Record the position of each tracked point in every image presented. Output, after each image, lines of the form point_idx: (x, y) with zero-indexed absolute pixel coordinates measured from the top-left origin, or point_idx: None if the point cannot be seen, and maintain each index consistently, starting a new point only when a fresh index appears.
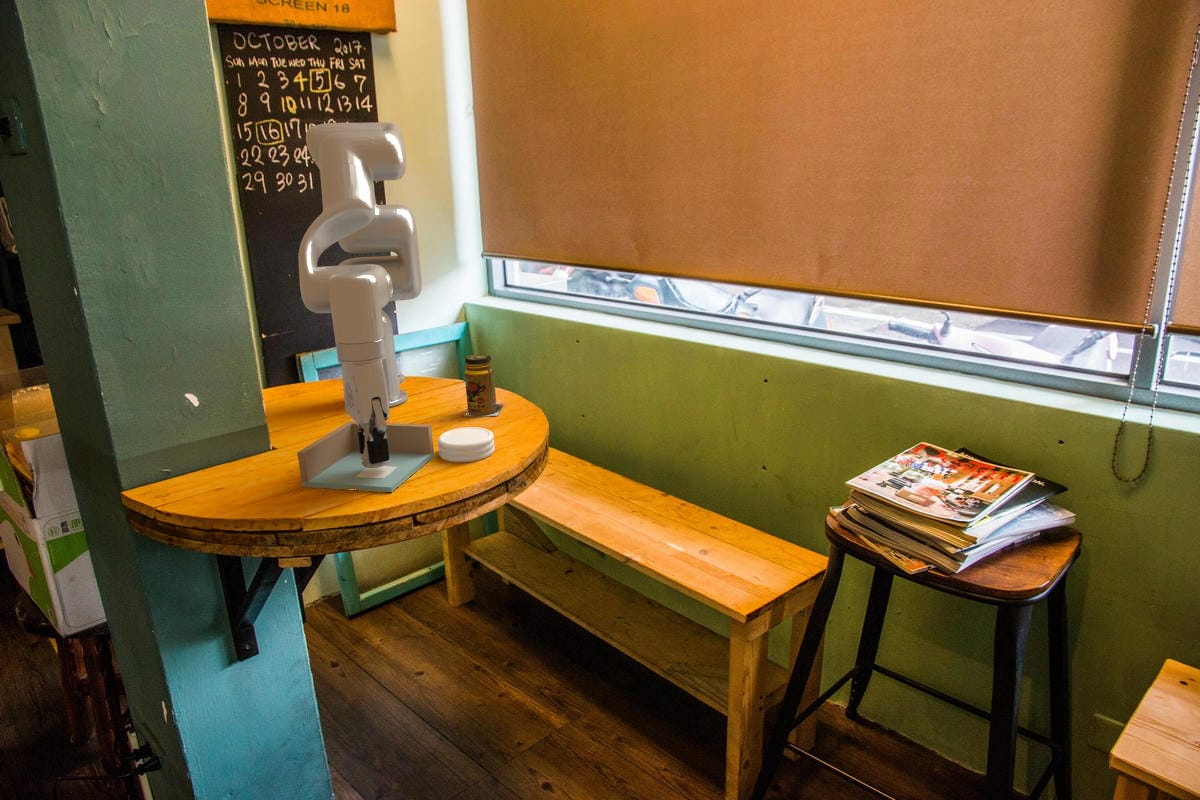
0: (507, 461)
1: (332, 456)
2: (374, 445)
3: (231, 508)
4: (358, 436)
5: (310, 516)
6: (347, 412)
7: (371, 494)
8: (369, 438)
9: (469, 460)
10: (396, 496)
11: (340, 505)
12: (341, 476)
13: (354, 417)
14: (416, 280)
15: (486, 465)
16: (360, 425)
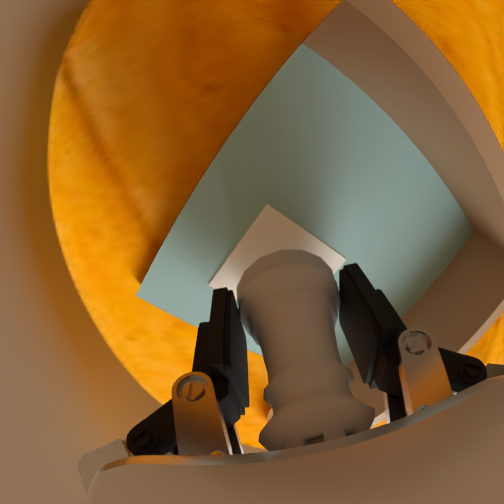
0: (241, 435)
1: (439, 158)
2: (192, 368)
3: None
4: (383, 312)
5: (61, 76)
6: (479, 402)
7: (147, 235)
8: (195, 387)
9: (268, 413)
10: (119, 291)
11: (96, 147)
12: (298, 157)
13: (243, 493)
14: None
15: (237, 421)
16: (330, 405)
